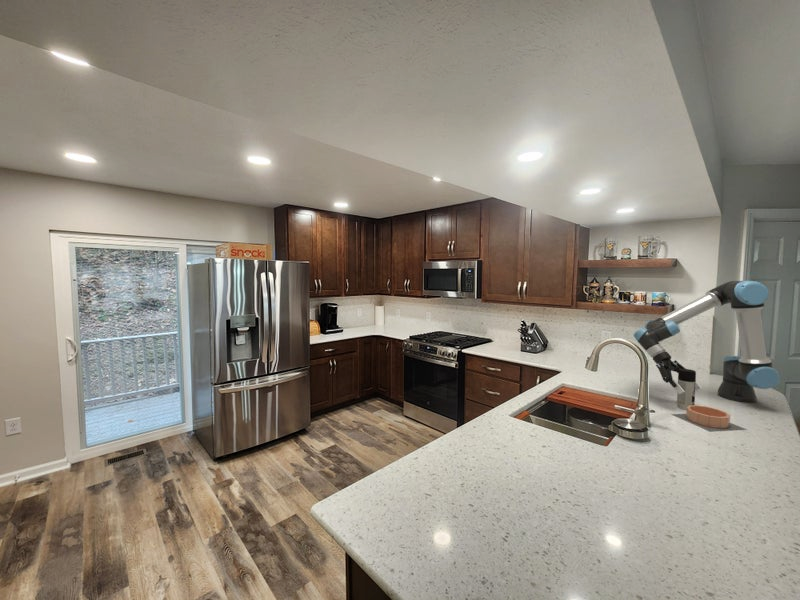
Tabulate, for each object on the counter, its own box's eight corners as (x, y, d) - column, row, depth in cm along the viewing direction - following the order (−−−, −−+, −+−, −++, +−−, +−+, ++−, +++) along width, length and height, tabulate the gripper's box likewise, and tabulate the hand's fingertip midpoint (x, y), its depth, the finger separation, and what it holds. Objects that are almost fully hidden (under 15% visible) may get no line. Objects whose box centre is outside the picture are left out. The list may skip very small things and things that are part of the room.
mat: (704, 413, 159) (704, 412, 159) (747, 430, 141) (747, 429, 141) (670, 415, 157) (670, 414, 157) (709, 433, 140) (709, 431, 140)
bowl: (705, 414, 157) (705, 404, 157) (738, 427, 143) (738, 416, 143) (678, 415, 156) (679, 405, 155) (709, 429, 142) (709, 418, 141)
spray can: (694, 413, 160) (697, 372, 159) (676, 409, 164) (678, 370, 163) (693, 408, 165) (695, 369, 164) (675, 405, 170) (678, 367, 168)
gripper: (668, 356, 183) (699, 391, 169) (637, 360, 174) (668, 397, 161) (679, 349, 177) (712, 384, 164) (649, 352, 168) (681, 390, 155)
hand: (690, 391), depth 162 cm, fingers open, 13 cm apart
